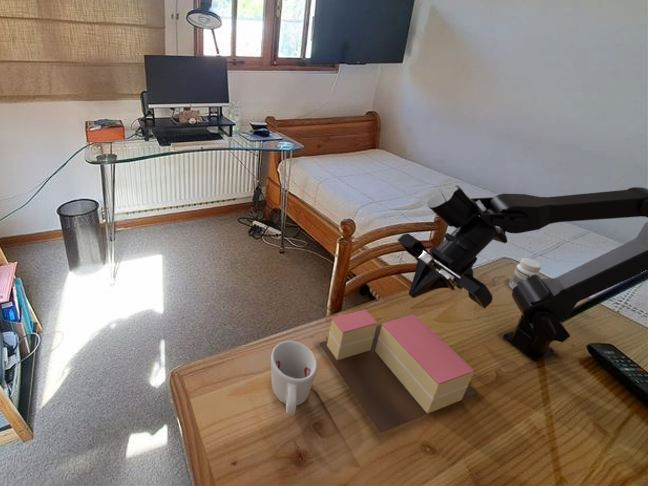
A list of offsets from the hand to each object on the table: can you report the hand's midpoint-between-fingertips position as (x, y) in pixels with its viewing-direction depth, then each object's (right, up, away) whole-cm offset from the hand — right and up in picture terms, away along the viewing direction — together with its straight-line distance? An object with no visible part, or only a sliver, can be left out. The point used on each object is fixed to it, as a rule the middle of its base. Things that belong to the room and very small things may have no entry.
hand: (410, 296), depth 69 cm
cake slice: (-13, -11, 0) cm, 17 cm away
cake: (-2, -13, -5) cm, 14 cm away
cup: (-27, -15, -9) cm, 32 cm away
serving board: (-6, -13, -3) cm, 15 cm away
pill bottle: (+40, -6, +20) cm, 45 cm away
